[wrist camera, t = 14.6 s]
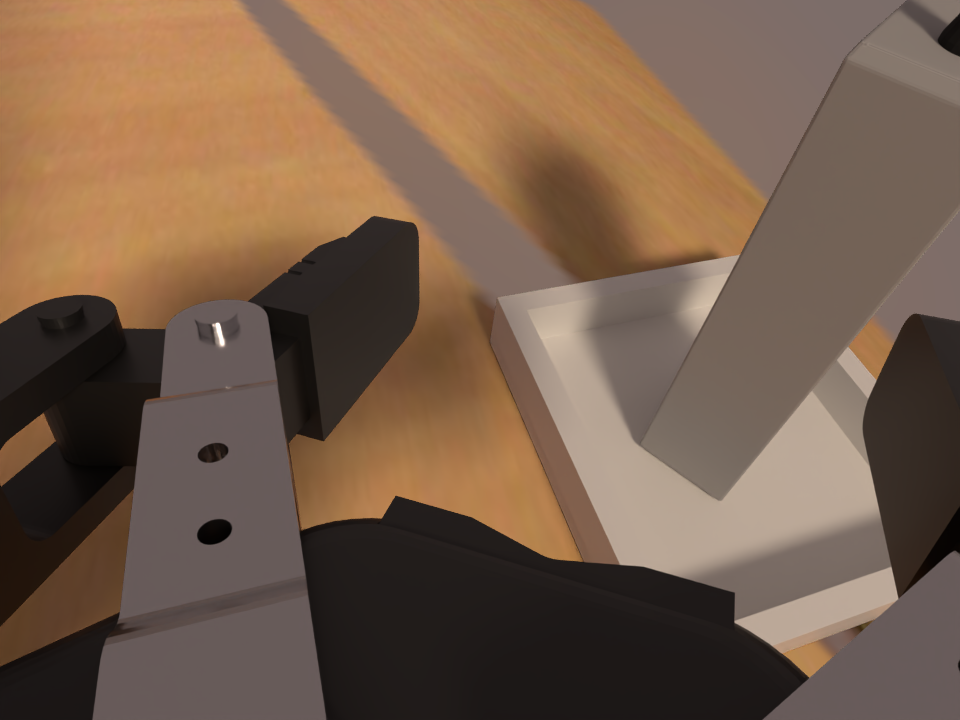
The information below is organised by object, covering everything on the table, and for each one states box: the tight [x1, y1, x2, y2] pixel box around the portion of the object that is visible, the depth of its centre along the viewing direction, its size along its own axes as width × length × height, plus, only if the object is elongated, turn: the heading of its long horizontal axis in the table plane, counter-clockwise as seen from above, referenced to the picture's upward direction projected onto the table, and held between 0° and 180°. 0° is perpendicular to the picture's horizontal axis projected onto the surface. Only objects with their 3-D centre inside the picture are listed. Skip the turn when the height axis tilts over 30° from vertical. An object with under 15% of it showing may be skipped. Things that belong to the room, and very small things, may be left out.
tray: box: [490, 255, 898, 653], centre depth 27 cm, size 14×16×3 cm
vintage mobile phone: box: [640, 0, 960, 501], centre depth 18 cm, size 4×5×25 cm
